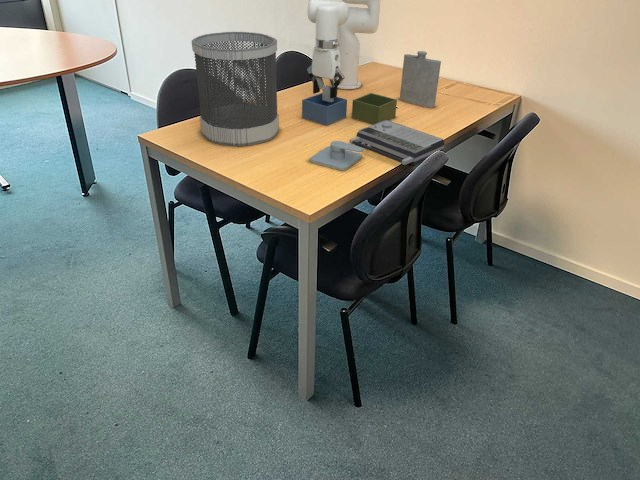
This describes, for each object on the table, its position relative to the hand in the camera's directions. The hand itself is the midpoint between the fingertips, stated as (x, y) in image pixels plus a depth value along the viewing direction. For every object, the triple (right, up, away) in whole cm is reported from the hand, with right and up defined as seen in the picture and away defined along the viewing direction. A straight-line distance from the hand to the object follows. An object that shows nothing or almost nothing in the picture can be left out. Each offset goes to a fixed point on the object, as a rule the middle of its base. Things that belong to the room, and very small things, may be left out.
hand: (324, 94), depth 190 cm
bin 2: (+18, -7, +6) cm, 20 cm away
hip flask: (+37, +2, +22) cm, 43 cm away
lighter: (0, -2, +1) cm, 2 cm away
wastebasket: (-29, -15, -9) cm, 34 cm away
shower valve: (+4, -28, -27) cm, 39 cm away
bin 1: (0, -7, +5) cm, 9 cm away
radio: (+23, -23, -19) cm, 37 cm away
